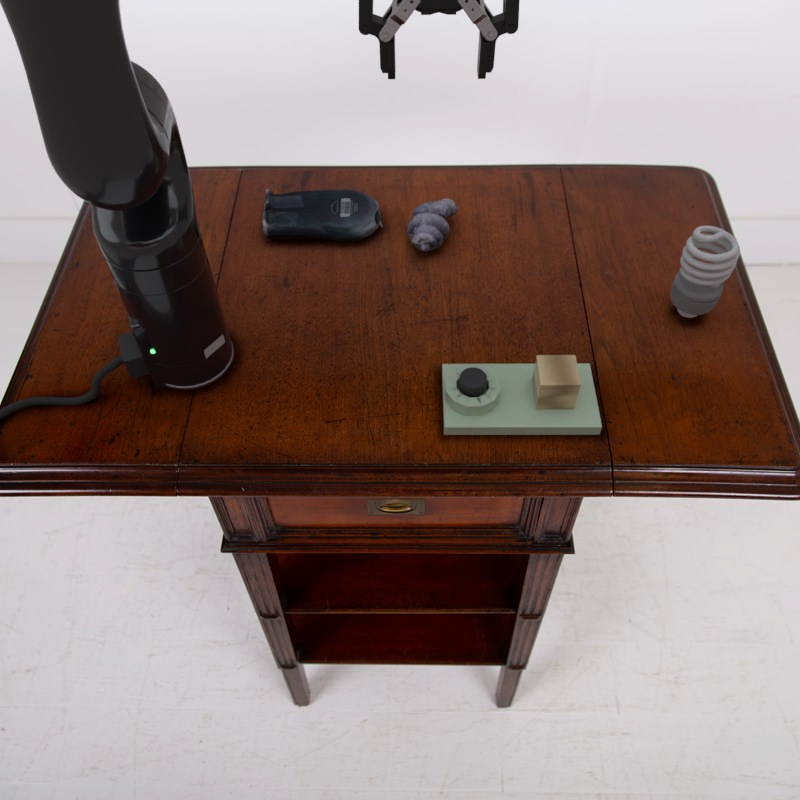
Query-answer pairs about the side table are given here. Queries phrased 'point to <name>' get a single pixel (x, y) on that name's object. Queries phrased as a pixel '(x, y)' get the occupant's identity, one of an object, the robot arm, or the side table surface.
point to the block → (555, 382)
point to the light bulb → (703, 271)
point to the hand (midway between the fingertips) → (436, 75)
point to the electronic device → (320, 215)
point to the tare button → (473, 382)
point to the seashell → (431, 224)
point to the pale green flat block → (514, 404)
